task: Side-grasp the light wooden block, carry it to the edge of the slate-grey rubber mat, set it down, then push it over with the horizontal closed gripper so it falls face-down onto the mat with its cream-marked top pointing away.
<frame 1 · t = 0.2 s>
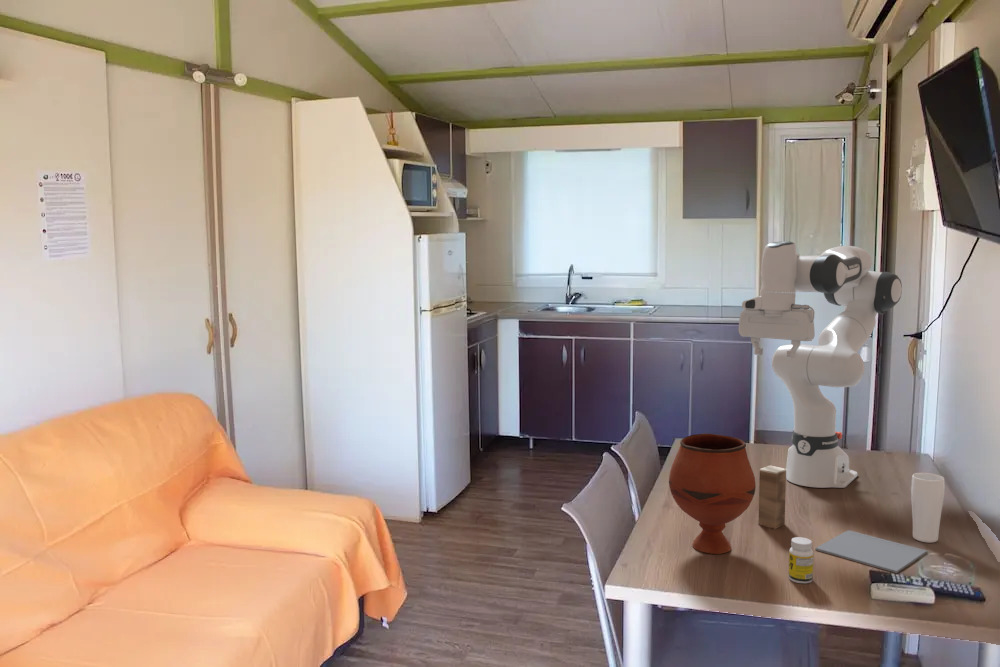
hand: (774, 356, 220), 39 cm above the table, tool pointing down, fingers open, 8 cm apart
supplement bottle: (800, 580, 175), on the table
light wooden block: (771, 524, 207), on the table
rubber mat: (870, 551, 189), on the table
goblet: (711, 547, 193), on the table
drinking glass: (925, 540, 195), on the table
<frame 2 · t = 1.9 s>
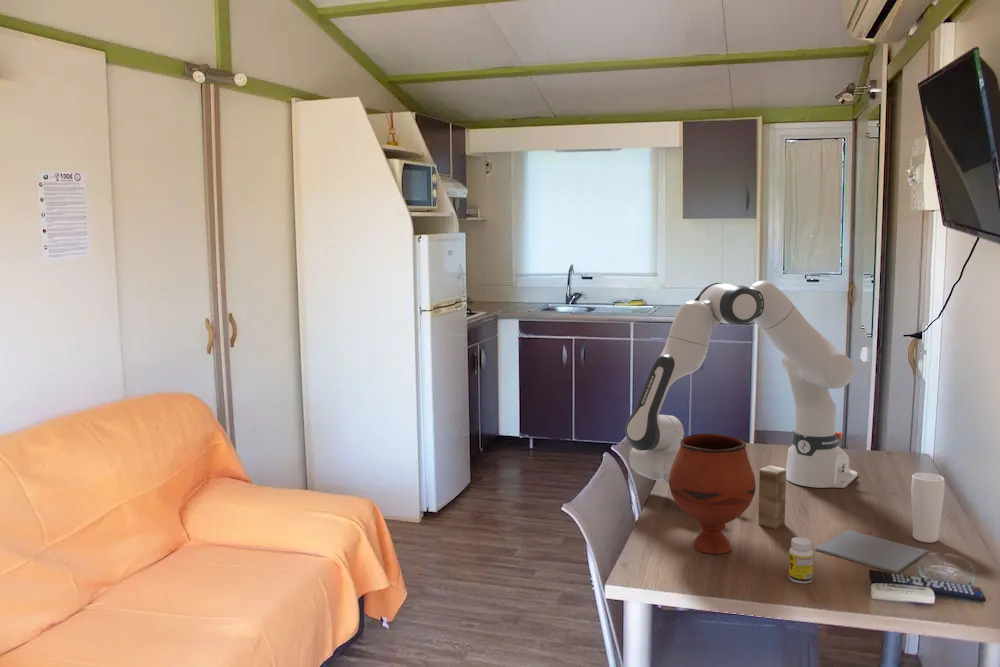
hand: (728, 481, 214), 8 cm above the table, tool horizontal, fingers open, 8 cm apart
nothing on the table moved.
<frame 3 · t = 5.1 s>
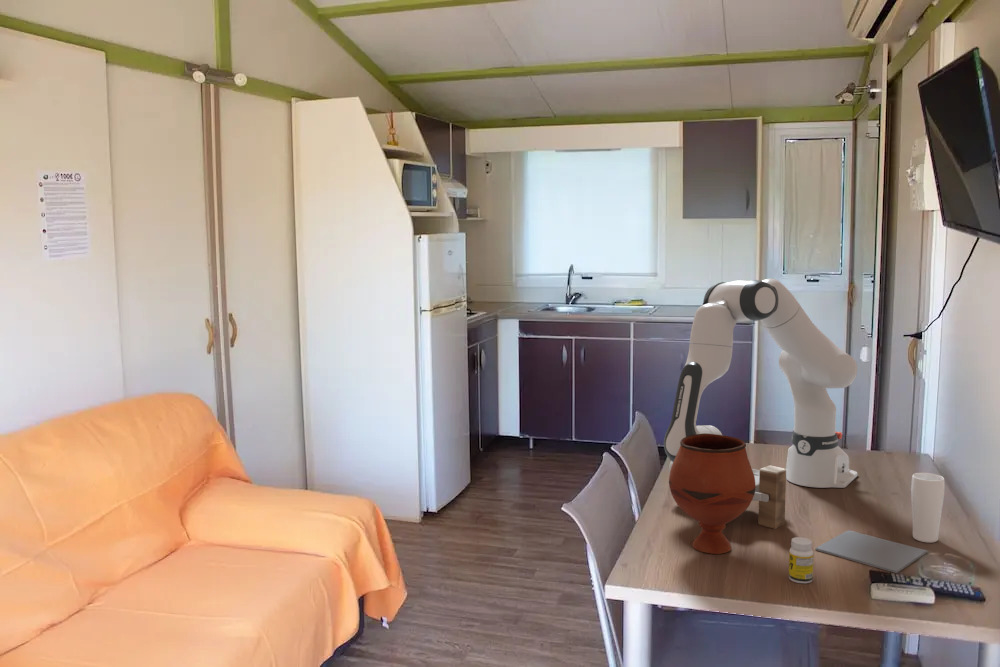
hand: (775, 495, 205), 8 cm above the table, tool horizontal, fingers closed on light wooden block, 4 cm apart
light wooden block: (771, 524, 207), on the table, touching gripper
everything else where it was.
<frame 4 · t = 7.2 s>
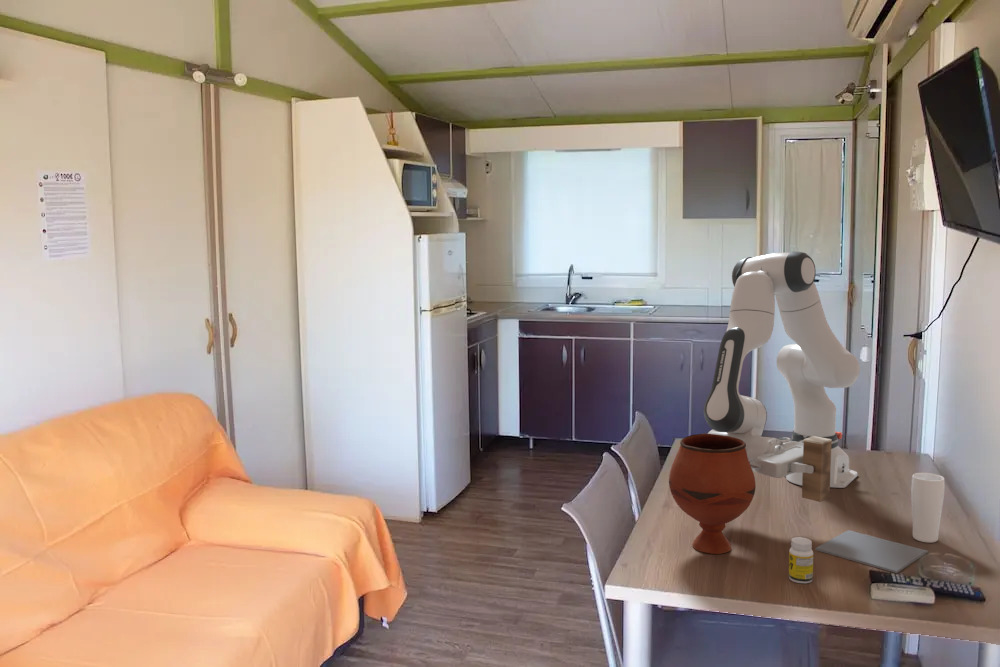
hand: (820, 467, 196), 17 cm above the table, tool horizontal, fingers closed on light wooden block, 4 cm apart
light wooden block: (815, 497, 197), point 9 cm above the table, touching gripper
everything else where it was.
when the fingers open (9 cm above the table, at t = 9.6 s): light wooden block drops 1 cm, on the table.
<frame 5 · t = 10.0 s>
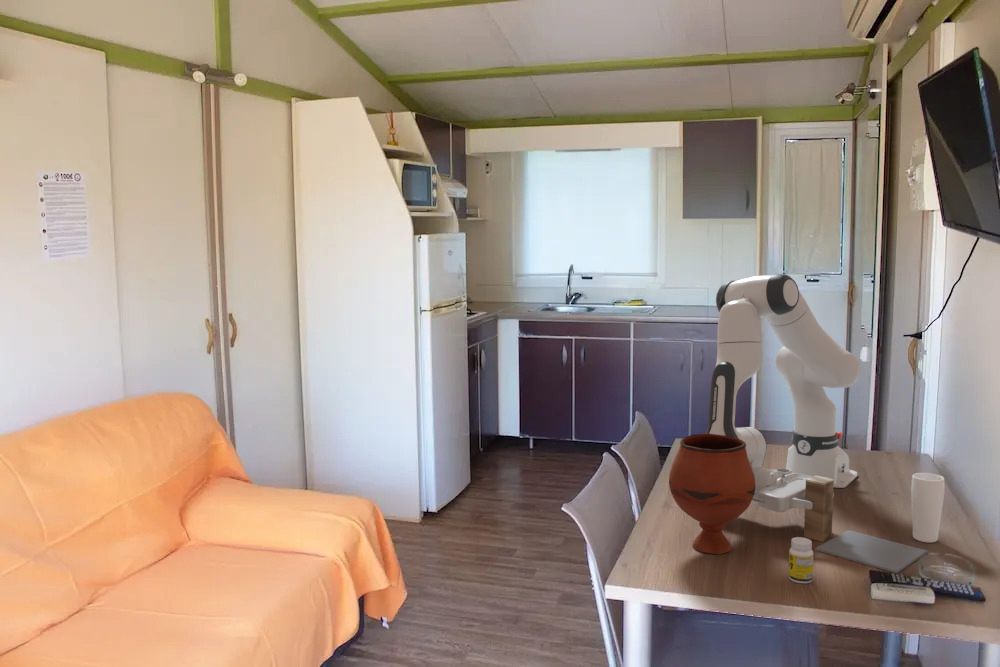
hand: (822, 500, 196), 9 cm above the table, tool horizontal, fingers open, 8 cm apart
light wooden block: (817, 536, 198), on the table
everything else where it was.
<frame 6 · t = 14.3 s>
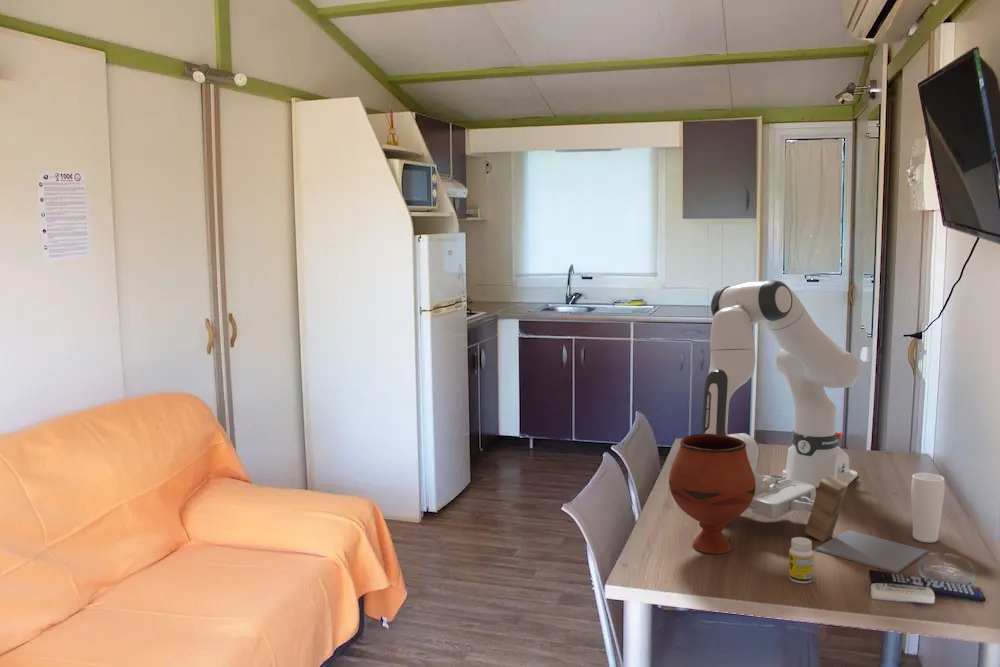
hand: (815, 507, 198), 7 cm above the table, tool horizontal, fingers closed
light wooden block: (818, 534, 198), point 1 cm above the table, tilted 15°
everything else where it was.
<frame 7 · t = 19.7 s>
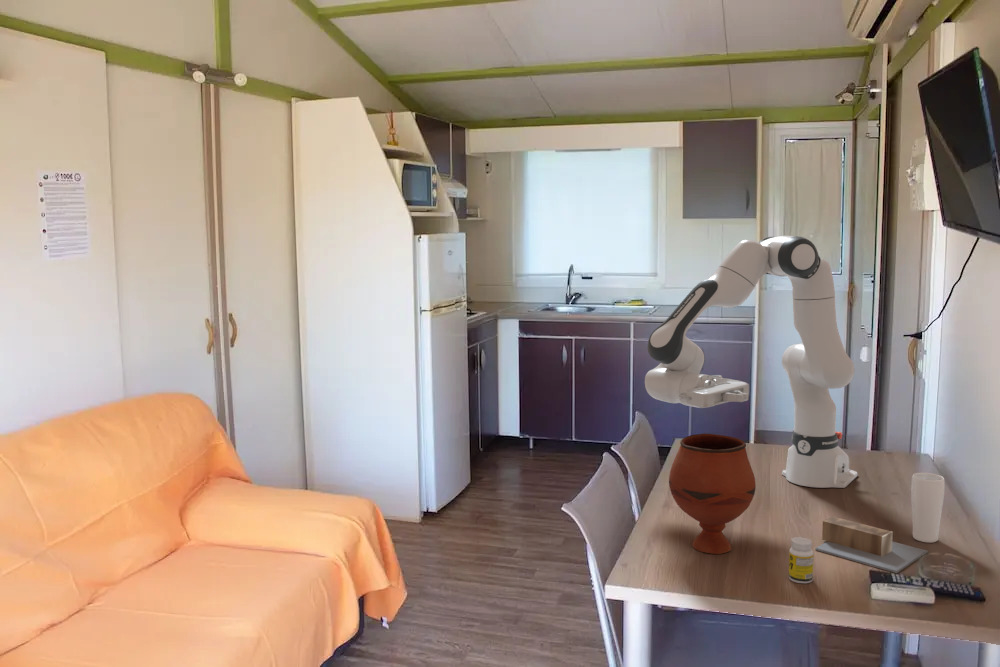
hand: (745, 398, 211), 30 cm above the table, tool horizontal, fingers closed
light wooden block: (827, 527, 196), point 3 cm above the table, tilted 90°, touching rubber mat
everything else where it was.
at the end: light wooden block tilted 90°; light wooden block inside the target area (8.8 cm from its centre), point 2.7 cm above the table; the gripper is holding nothing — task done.
